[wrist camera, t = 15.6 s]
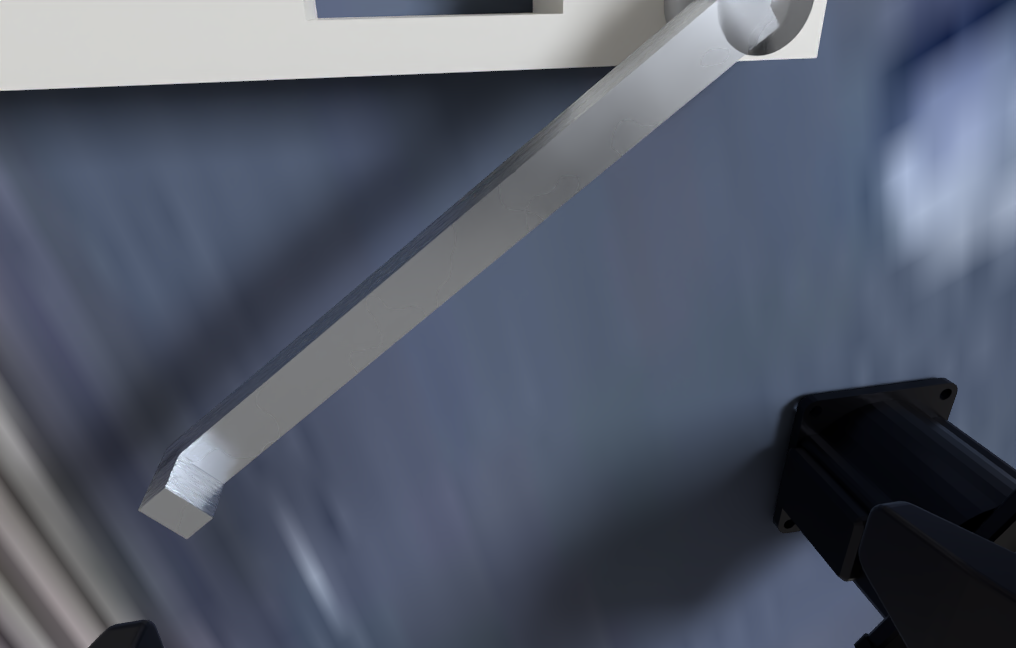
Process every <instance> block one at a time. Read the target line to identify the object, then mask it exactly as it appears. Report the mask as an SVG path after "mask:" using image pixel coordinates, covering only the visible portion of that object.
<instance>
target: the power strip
mask: <svg viewBox="0 0 1016 648" xmlns="http://www.w3.org/2000/svg"><path fill="white" fill-rule="evenodd" d="M693 1H694V0H533V13H498V14H460V15H422V16H384V17H346V18H317V11H316V3H315V0H0V91H9V90H34V89H59V88H83V87H108V86H133V85H158V84H182V83H207V82H232V81H257V80H281V79H306V78H331V77H355V76H380V75H405V74H430V73H454V72H479V71H504V70H529V69H553V68H578V67H603V66H617V65H619V64H620V63H621V62H622V61H623V60H625V59H626V58H627V57H628V56H629V55H630V54H632V53H633V52H634V51H635V50H636V49H637V48H639V47H640V46H641V45H642V44H643V43H645V42H646V41H647V40H648V39H649V38H650V37H652V36H653V35H654V34H655V33H656V32H657V31H659V30H660V29H661V28H662V27H663V26H665V25H666V24H667V23H668V22H669V21H670V20H672V19H673V18H674V17H675V16H676V15H677V14H679V13H680V12H681V11H682V10H683V9H685V8H686V7H687V6H688V5H689V4H690V3H692V2H693ZM826 3H827V0H814V3H813V7H812V10H811V13H810V15H809V17H808V19H807V21H806V23H805V25H804V26H803V28H802V29H801V31H800V32H799V34H798V35H797V36H796V37H795V38H794V39H793V40H792V41H791V42H790V43H789V44H787V45H786V46H785V47H783V48H782V49H780V50H778V51H776V52H774V53H771V54H768V55H763V56H751V55H744V56H743V57H742V58H741V59H739V60H738V61H751V60H776V59H801V58H817V53H818V47H819V42H820V36H821V31H822V25H823V19H824V14H825V8H826Z"/></svg>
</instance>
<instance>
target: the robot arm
mask: <svg viewBox="0 0 1016 648" xmlns="http://www.w3.org/2000/svg"><path fill="white" fill-rule="evenodd" d="M957 389H958V388H957V386H956V385H955V384H954V383H952V382H950V381H949V380H947V379H946V378H936V379H928V380H921V381H913V382H906V383H898V384H890V385H883V386H875V387H867V388H860V389H852V390H845V391H837V392H829V393H822V394H814V395H809V396H807V397H805V398H804V399H802V400H801V401H800V403H799V404H798V407H797V410H796V415H795V420H794V424H793V429H792V434H791V438H790V443H789V447H788V452H787V457H786V461H785V466H784V470H783V475H782V480H781V484H780V489H779V494H778V498H777V503H776V507H775V512H774V517H773V523H774V524H775V526H776V527H777V528H778V529H779V531H780V532H782V533H790V532H796V531H801V532H802V533H803V534H804V535H805V537H806V538H807V539H808V540H809V541H810V543H811V544H812V545H813V546H814V548H815V549H816V550H817V551H818V552H819V554H820V555H821V556H822V557H823V559H824V560H825V561H826V562H827V564H828V565H829V566H830V567H831V568H832V570H833V571H834V572H835V573H836V575H837V576H838V577H840V578H841V579H842V580H843V581H853V582H854V583H855V584H856V585H857V587H858V588H859V589H860V590H861V591H862V593H863V594H864V595H865V596H866V597H867V599H868V600H869V601H870V602H871V603H872V604H873V606H874V607H875V608H876V609H877V610H878V612H879V613H880V614H881V615H882V616H883V618H884V620H883V621H882V622H881V623H880V624H879V625H878V626H877V627H876V628H875V629H874V630H872V631H871V632H870V633H869V634H867V633H865V634H864V635H863V636H862V637H861V638H860V639H859V640H858V641H857V642H856V643H855V644H854V646H855V648H1016V470H1015V469H1014V468H1013V467H1011V466H1010V465H1008V464H1007V463H1006V462H1004V461H1003V460H1001V459H1000V458H999V457H997V456H996V455H995V454H993V453H992V452H990V451H989V450H988V449H986V448H985V447H983V446H982V445H981V444H979V443H978V442H977V441H975V440H974V439H972V438H971V437H970V436H968V435H967V434H965V433H964V432H963V431H961V430H960V429H958V428H957V427H956V426H954V425H953V424H952V423H950V422H949V421H947V420H948V417H949V414H950V412H951V409H952V406H953V403H954V400H955V397H956V394H957ZM813 407H814V409H812V408H813ZM811 409H812V410H811ZM810 410H811V411H810ZM88 648H164V646H163V644H162V641H161V639H160V636H159V633H158V631H157V628H156V626H155V625H154V623H153V622H151V621H150V620H139V621H133V622H126V623H120V624H115V625H113V626H111V627H109V628H108V629H106V630H105V631H104V632H103V633H102V634H101V635H100V636H99V637H98V638H97V639H96V640H95V641H94V642H93V643H92V644H91V645H90V646H89V647H88Z"/></svg>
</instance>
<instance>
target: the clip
mask: <svg viewBox="0 0 1016 648" xmlns="http://www.w3.org/2000/svg"><path fill="white" fill-rule="evenodd" d="M813 3H814V0H694V1H693V2H692V3H690V4H689V5H688V6H687V7H686V8H685V9H683V10H682V11H681V12H680V13H679V14H677V15H676V16H675V17H674V18H673V19H672V20H670V21H669V22H668V23H667V24H666V25H665V26H663V27H662V28H661V29H660V30H659V31H657V32H656V33H655V34H654V35H653V36H652V37H650V38H649V39H648V40H647V41H646V42H645V43H643V44H642V45H641V46H640V47H639V48H637V49H636V50H635V51H634V52H633V53H632V54H630V55H629V56H628V57H627V58H626V59H625V60H623V61H622V62H621V63H620V64H619V65H617V66H616V67H615V68H614V69H613V70H612V71H610V72H609V73H608V74H607V75H606V76H605V77H603V78H602V79H601V80H600V81H599V82H597V83H596V84H595V85H594V86H593V87H592V88H590V89H589V90H588V91H587V92H586V93H585V94H583V95H582V96H581V97H580V98H579V99H577V100H576V101H575V102H574V103H573V104H572V105H570V106H569V107H568V108H567V109H566V110H565V111H563V112H562V113H561V114H560V115H559V116H557V117H556V118H555V119H554V120H553V121H552V122H550V123H549V124H548V125H547V126H546V127H545V128H543V129H542V130H541V131H540V132H539V133H537V134H536V135H535V136H534V137H533V138H532V139H530V140H529V141H528V142H527V143H526V144H525V145H523V146H522V147H521V148H520V149H519V150H517V151H516V152H515V153H514V154H513V155H512V156H510V157H509V158H508V159H507V160H506V161H504V162H503V163H502V164H501V165H500V166H499V167H497V168H496V169H495V170H494V171H493V172H492V173H490V174H489V175H488V176H487V177H486V178H484V179H483V180H482V181H481V182H480V183H479V184H477V185H476V186H475V187H474V188H473V189H472V190H470V191H469V192H468V193H467V194H466V195H464V196H463V197H462V198H461V199H460V200H459V201H457V202H456V203H455V204H454V205H453V206H452V207H450V208H449V209H448V210H447V211H446V212H444V213H443V214H442V215H441V216H440V217H439V218H437V219H436V220H435V221H434V222H433V223H432V224H430V225H429V226H428V227H427V228H426V229H424V230H423V231H422V232H421V233H420V234H419V235H417V236H416V237H415V238H414V239H413V240H412V241H410V242H409V243H408V244H407V245H406V246H404V247H403V248H402V249H401V250H400V251H399V252H397V253H396V254H395V255H394V256H393V257H392V258H390V259H389V260H388V261H387V262H386V263H384V264H383V265H382V266H381V267H380V268H379V269H377V270H376V271H375V272H374V273H373V274H372V275H370V276H369V277H368V278H367V279H366V280H364V281H363V282H362V283H361V284H360V285H359V286H357V287H356V288H355V289H354V290H353V291H352V292H350V293H349V294H348V295H347V296H346V297H344V298H343V299H342V300H341V301H340V302H339V303H337V304H336V305H335V306H334V307H333V308H332V309H330V310H329V311H328V312H327V313H326V314H324V315H323V316H322V317H321V318H320V319H319V320H317V321H316V322H315V323H314V324H313V325H312V326H310V327H309V328H308V329H307V330H306V331H304V332H303V333H302V334H301V335H300V336H299V337H297V338H296V339H295V340H294V341H293V342H292V343H290V344H289V345H288V346H287V347H286V348H284V349H283V350H282V351H281V352H280V353H279V354H277V355H276V356H275V357H274V358H273V359H271V360H270V361H269V362H268V363H267V364H266V365H264V366H263V367H262V368H261V369H260V370H259V371H257V372H256V373H255V374H254V375H253V376H251V377H250V378H249V379H248V380H247V381H246V382H244V383H243V384H242V385H241V386H240V387H239V388H237V389H236V390H235V391H234V392H233V393H231V394H230V395H229V396H228V397H227V398H226V399H224V400H223V401H222V402H221V403H220V404H219V405H217V406H216V407H215V408H214V409H213V410H211V411H210V412H209V413H208V414H207V415H206V416H204V417H203V418H202V419H201V420H200V421H199V422H197V423H196V424H195V425H194V426H193V427H191V428H190V429H189V430H188V431H187V432H186V433H184V434H183V435H182V436H181V437H180V438H179V439H177V440H176V441H175V442H174V443H173V444H171V445H170V446H169V447H168V448H167V449H166V452H165V454H164V456H163V458H162V460H161V462H160V464H159V467H158V469H157V471H156V473H155V475H154V477H153V479H152V482H151V484H150V486H149V488H148V490H147V492H146V494H145V497H144V499H143V501H142V503H141V505H140V507H139V509H138V510H139V511H140V512H142V513H144V514H145V515H147V516H149V517H150V518H152V519H154V520H155V521H157V522H159V523H160V524H162V525H164V526H165V527H167V528H169V529H170V530H172V531H174V532H175V533H177V534H179V535H180V536H182V537H184V538H185V539H188V538H189V537H190V536H192V535H193V534H194V533H195V532H196V531H198V530H199V529H200V528H201V527H203V526H204V525H205V524H206V523H207V522H209V521H210V520H211V519H212V518H213V517H214V513H215V510H216V507H217V504H218V501H219V497H220V494H221V491H222V488H223V485H224V483H226V482H227V481H228V480H229V479H230V478H232V477H233V476H234V475H235V474H236V473H238V472H239V471H240V470H241V469H243V468H244V467H245V466H246V465H247V464H249V463H250V462H251V461H252V460H253V459H255V458H256V457H257V456H258V455H260V454H261V453H262V452H263V451H264V450H266V449H267V448H268V447H269V446H270V445H272V444H273V443H274V442H275V441H277V440H278V439H279V438H280V437H281V436H283V435H284V434H285V433H286V432H287V431H289V430H290V429H291V428H292V427H294V426H295V425H296V424H297V423H298V422H300V421H301V420H302V419H303V418H304V417H306V416H307V415H308V414H309V413H311V412H312V411H313V410H314V409H315V408H317V407H318V406H319V405H320V404H321V403H323V402H324V401H325V400H326V399H328V398H329V397H330V396H331V395H332V394H334V393H335V392H336V391H337V390H338V389H340V388H341V387H342V386H343V385H345V384H346V383H347V382H348V381H349V380H351V379H352V378H353V377H354V376H356V375H357V374H358V373H359V372H360V371H362V370H363V369H364V368H365V367H366V366H368V365H369V364H370V363H371V362H373V361H374V360H375V359H376V358H377V357H379V356H380V355H381V354H382V353H383V352H385V351H386V350H387V349H388V348H390V347H391V346H392V345H393V344H394V343H396V342H397V341H398V340H399V339H400V338H402V337H403V336H404V335H405V334H407V333H408V332H409V331H410V330H411V329H413V328H414V327H415V326H416V325H417V324H419V323H420V322H421V321H422V320H424V319H425V318H426V317H427V316H428V315H430V314H431V313H432V312H433V311H434V310H436V309H437V308H438V307H439V306H441V305H442V304H443V303H444V302H445V301H447V300H448V299H449V298H450V297H451V296H453V295H454V294H455V293H456V292H458V291H459V290H460V289H461V288H462V287H464V286H465V285H466V284H467V283H468V282H470V281H471V280H472V279H473V278H475V277H476V276H477V275H478V274H479V273H481V272H482V271H483V270H484V269H485V268H487V267H488V266H489V265H490V264H492V263H493V262H494V261H495V260H496V259H498V258H499V257H500V256H501V255H503V254H504V253H505V252H506V251H507V250H509V249H510V248H511V247H512V246H513V245H515V244H516V243H517V242H518V241H520V240H521V239H522V238H523V237H524V236H526V235H527V234H528V233H529V232H530V231H532V230H533V229H534V228H535V227H537V226H538V225H539V224H540V223H541V222H543V221H544V220H545V219H546V218H547V217H549V216H550V215H551V214H552V213H554V212H555V211H556V210H557V209H558V208H560V207H561V206H562V205H563V204H564V203H566V202H567V201H568V200H569V199H571V198H572V197H573V196H574V195H575V194H577V193H578V192H579V191H580V190H581V189H583V188H584V187H585V186H586V185H588V184H589V183H590V182H591V181H592V180H594V179H595V178H596V177H597V176H598V175H600V174H601V173H602V172H603V171H605V170H606V169H607V168H608V167H609V166H611V165H612V164H613V163H614V162H615V161H617V160H618V159H619V158H620V157H622V156H623V155H624V154H625V153H626V152H628V151H629V150H630V149H631V148H633V147H634V146H635V145H636V144H637V143H639V142H640V141H641V140H642V139H643V138H645V137H646V136H647V135H648V134H650V133H651V132H652V131H653V130H654V129H656V128H657V127H658V126H659V125H660V124H662V123H663V122H664V121H665V120H667V119H668V118H669V117H670V116H671V115H673V114H674V113H675V112H676V111H677V110H679V109H680V108H681V107H682V106H684V105H685V104H686V103H687V102H688V101H690V100H691V99H692V98H693V97H694V96H696V95H697V94H698V93H699V92H701V91H702V90H703V89H704V88H705V87H707V86H708V85H709V84H710V83H711V82H713V81H714V80H715V79H716V78H718V77H719V76H720V75H721V74H722V73H724V72H725V71H726V70H727V69H728V68H730V67H731V66H732V65H733V64H735V63H736V62H737V61H738V60H739V59H741V58H742V57H743V56H744V55H751V56H763V55H768V54H771V53H774V52H776V51H778V50H780V49H782V48H783V47H785V46H786V45H787V44H789V43H790V42H791V41H792V40H793V39H794V38H795V37H796V36H797V35H798V34H799V32H800V31H801V29H802V28H803V26H804V25H805V23H806V21H807V19H808V17H809V15H810V13H811V10H812V7H813Z"/></svg>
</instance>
